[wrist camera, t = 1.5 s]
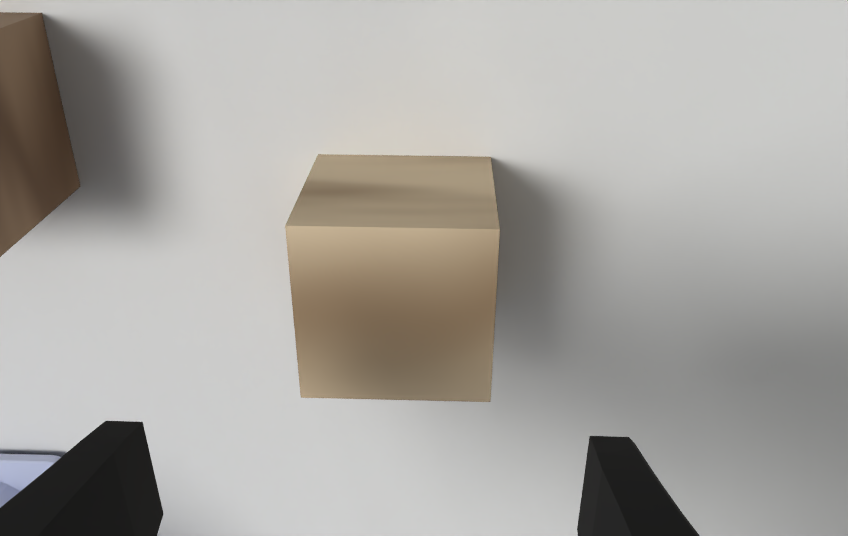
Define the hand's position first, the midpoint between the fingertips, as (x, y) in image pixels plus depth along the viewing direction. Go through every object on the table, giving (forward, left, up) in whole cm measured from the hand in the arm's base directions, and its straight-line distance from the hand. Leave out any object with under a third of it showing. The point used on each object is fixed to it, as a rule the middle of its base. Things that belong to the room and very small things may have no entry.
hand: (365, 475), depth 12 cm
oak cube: (0, 0, -10) cm, 10 cm away
